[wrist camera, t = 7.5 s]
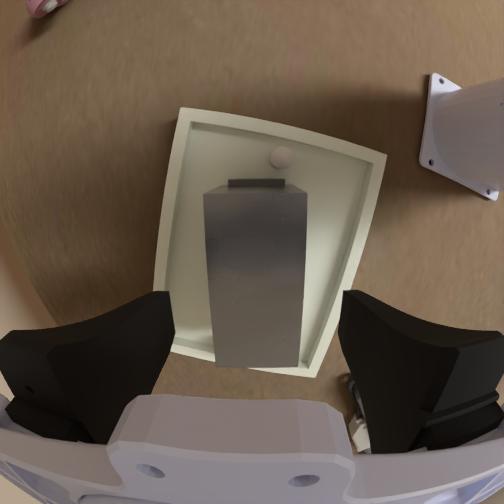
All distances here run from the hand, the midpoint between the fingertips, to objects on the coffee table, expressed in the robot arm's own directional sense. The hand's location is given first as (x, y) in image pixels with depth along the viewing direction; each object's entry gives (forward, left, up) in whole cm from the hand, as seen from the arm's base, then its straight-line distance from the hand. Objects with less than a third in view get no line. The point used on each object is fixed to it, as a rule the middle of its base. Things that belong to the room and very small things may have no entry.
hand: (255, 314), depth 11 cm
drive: (0, 0, -8) cm, 8 cm away
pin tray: (0, 0, -9) cm, 9 cm away
